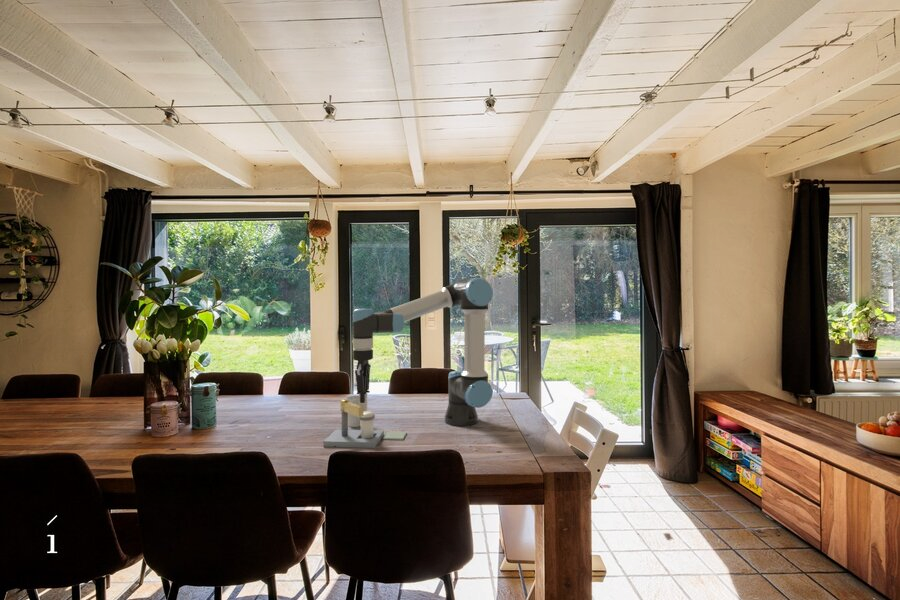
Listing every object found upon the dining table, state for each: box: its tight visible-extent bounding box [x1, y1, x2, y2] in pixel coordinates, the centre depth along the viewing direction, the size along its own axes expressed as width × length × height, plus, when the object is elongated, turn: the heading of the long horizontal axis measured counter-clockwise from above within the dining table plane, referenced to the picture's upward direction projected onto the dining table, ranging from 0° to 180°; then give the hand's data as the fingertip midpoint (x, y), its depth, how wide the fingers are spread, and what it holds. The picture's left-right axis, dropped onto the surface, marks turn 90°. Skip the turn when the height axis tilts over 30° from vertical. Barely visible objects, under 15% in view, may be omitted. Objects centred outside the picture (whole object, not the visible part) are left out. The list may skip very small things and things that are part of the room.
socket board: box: [322, 411, 385, 449], centre depth 161 cm, size 20×14×12 cm
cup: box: [345, 395, 361, 428], centre depth 182 cm, size 8×8×12 cm
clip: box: [339, 398, 364, 417], centre depth 158 cm, size 14×3×4 cm, turn 44°
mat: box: [382, 430, 407, 441], centre depth 166 cm, size 8×8×1 cm
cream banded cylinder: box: [359, 410, 376, 439], centre depth 161 cm, size 6×6×11 cm
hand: (363, 410), depth 156 cm, fingers closed
